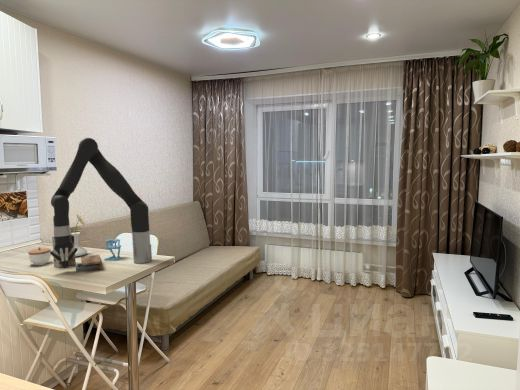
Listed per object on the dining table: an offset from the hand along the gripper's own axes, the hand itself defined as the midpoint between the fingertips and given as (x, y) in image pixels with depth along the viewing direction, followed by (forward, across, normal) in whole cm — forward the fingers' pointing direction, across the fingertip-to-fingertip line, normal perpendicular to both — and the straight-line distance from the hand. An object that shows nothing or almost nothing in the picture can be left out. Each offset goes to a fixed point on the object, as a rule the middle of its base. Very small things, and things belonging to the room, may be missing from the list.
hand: (65, 267), depth 186 cm
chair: (+3, -25, -14) cm, 28 cm away
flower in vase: (+2, -7, -35) cm, 36 cm away
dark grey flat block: (+2, -10, 0) cm, 10 cm away
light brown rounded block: (+2, -12, -1) cm, 12 cm away
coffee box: (+2, 0, -14) cm, 14 cm away
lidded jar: (+2, +12, -25) cm, 28 cm away
